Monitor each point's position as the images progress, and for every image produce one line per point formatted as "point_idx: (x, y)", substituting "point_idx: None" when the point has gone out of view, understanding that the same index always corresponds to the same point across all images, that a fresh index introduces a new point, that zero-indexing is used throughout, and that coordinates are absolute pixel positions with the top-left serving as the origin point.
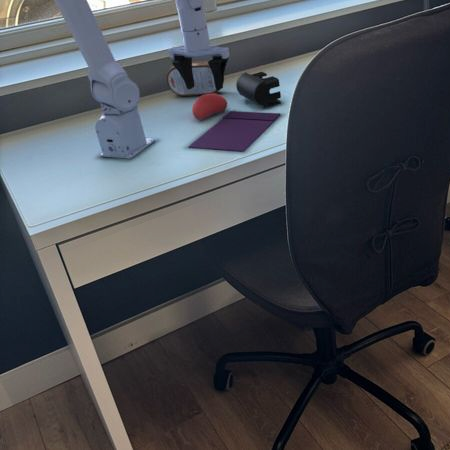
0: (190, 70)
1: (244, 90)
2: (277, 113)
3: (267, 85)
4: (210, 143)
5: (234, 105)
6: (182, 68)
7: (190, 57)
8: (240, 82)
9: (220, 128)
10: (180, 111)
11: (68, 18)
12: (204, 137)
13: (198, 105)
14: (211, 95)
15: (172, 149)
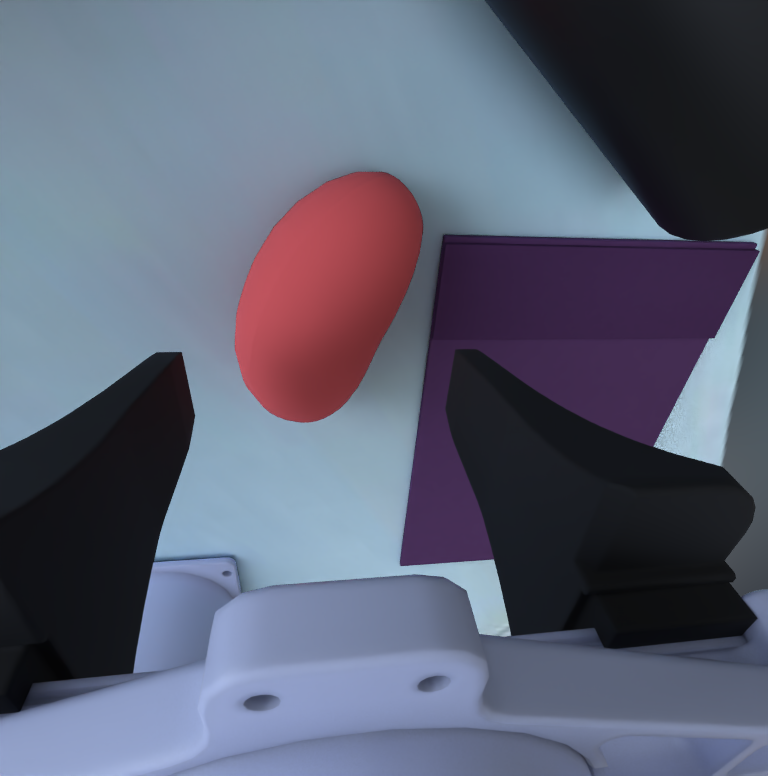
0: (123, 462)
1: (582, 112)
2: (743, 254)
3: None
4: (472, 538)
5: (416, 78)
6: (139, 628)
7: (30, 554)
8: (557, 8)
9: None
10: (46, 244)
11: None
12: (428, 510)
13: (311, 419)
14: (356, 333)
15: (347, 578)
